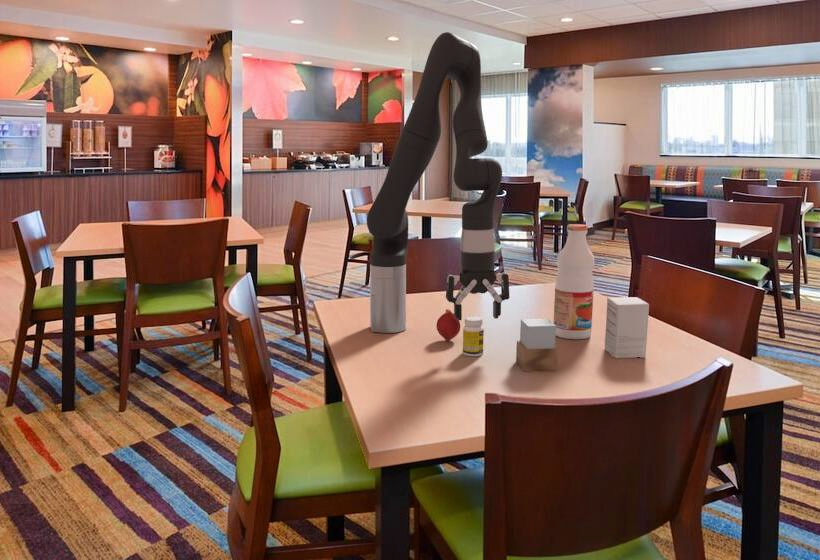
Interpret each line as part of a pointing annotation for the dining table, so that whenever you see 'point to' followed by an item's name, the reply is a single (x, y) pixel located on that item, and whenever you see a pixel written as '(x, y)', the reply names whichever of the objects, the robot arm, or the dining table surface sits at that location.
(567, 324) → the fruit juice
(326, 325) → the dining table surface
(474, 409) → the dining table surface
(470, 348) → the supplement bottle
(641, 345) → the supplement box
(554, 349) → the bottom block
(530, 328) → the top block
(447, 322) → the onion
